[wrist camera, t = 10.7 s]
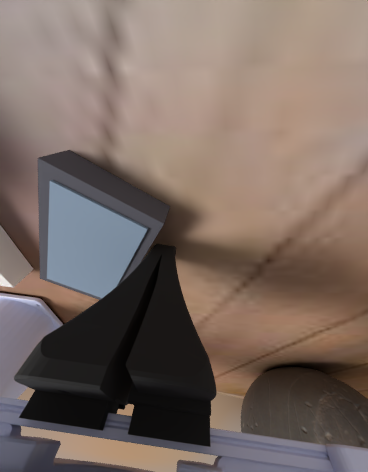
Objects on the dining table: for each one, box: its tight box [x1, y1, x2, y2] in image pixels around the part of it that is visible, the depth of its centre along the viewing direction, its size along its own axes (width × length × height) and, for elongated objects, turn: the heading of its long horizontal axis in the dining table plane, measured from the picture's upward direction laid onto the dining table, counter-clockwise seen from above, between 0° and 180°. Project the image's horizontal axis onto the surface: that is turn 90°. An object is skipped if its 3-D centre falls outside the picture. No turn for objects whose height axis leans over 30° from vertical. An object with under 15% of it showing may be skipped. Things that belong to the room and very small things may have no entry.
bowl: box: [241, 367, 368, 449], centre depth 21 cm, size 18×18×13 cm
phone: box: [38, 150, 170, 300], centre depth 11 cm, size 10×6×3 cm, turn 150°
